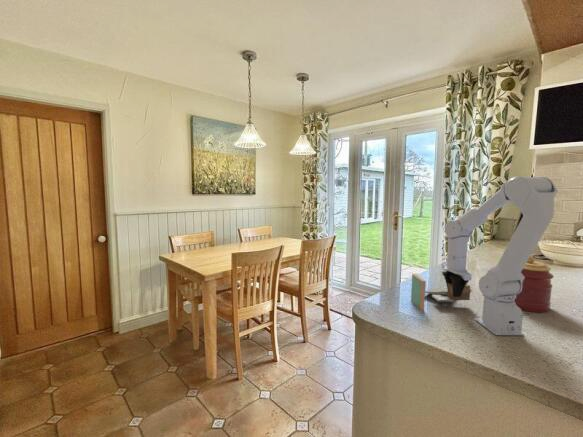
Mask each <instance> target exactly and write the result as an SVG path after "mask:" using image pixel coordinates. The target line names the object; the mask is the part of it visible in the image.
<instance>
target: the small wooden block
mask: <svg viewBox="0 0 583 437" xmlns="http://www.w3.org/2000/svg"><path fill="white" fill-rule="evenodd" d="M431 297H432V298H433V299H434V300H436V301H437V302H438V303H439V302H443V303H444V302H445V303H446V302H455V301H470V300H471V299H470V298H471V285H469V284H468V283H467V284H466V285H465V287H464V289H463V292H462V294H461V297H455V296H454V295H453V285H452V283H448V291H447V295H442V294H431Z"/></svg>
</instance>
